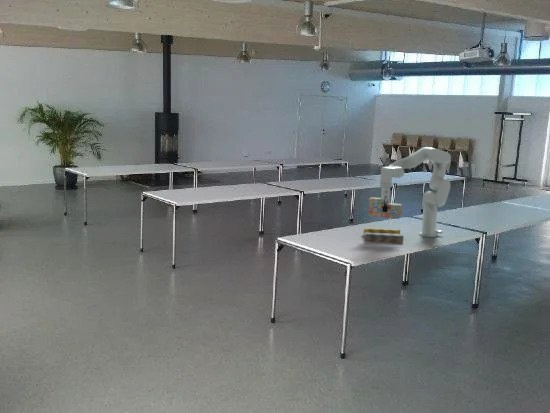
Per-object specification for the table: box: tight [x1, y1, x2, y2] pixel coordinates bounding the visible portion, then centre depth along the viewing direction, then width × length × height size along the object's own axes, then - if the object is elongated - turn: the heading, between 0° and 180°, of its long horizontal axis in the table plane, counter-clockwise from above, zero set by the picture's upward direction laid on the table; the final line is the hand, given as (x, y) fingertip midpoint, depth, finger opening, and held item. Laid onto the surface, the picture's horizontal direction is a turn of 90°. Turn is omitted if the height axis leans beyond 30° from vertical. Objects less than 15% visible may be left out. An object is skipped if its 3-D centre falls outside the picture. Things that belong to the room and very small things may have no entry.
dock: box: [363, 227, 404, 244], centre depth 370 cm, size 25×19×5 cm
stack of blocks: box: [367, 196, 403, 220], centre depth 367 cm, size 21×6×12 cm, turn 65°
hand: (384, 210), depth 367 cm, fingers closed on stack of blocks, 7 cm apart
